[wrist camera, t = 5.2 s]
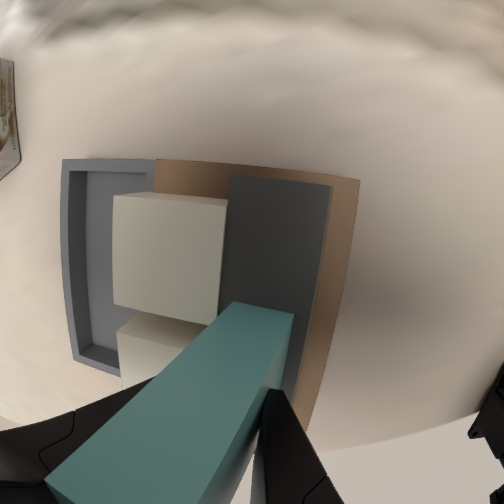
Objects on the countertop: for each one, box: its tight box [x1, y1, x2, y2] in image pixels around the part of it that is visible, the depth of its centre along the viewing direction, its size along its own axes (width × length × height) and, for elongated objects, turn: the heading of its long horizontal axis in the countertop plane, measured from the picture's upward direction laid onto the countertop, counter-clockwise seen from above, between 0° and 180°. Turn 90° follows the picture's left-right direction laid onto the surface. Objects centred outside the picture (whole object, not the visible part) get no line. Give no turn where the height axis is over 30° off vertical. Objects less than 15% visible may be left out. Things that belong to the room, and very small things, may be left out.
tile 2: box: [116, 311, 209, 390], centre depth 13 cm, size 4×4×2 cm
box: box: [60, 159, 156, 377], centre depth 16 cm, size 6×12×2 cm, turn 174°
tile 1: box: [112, 192, 228, 325], centre depth 11 cm, size 4×4×2 cm
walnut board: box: [153, 159, 360, 431], centre depth 14 cm, size 8×12×3 cm, turn 174°
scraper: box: [44, 174, 333, 504], centre depth 7 cm, size 3×11×10 cm, turn 173°
